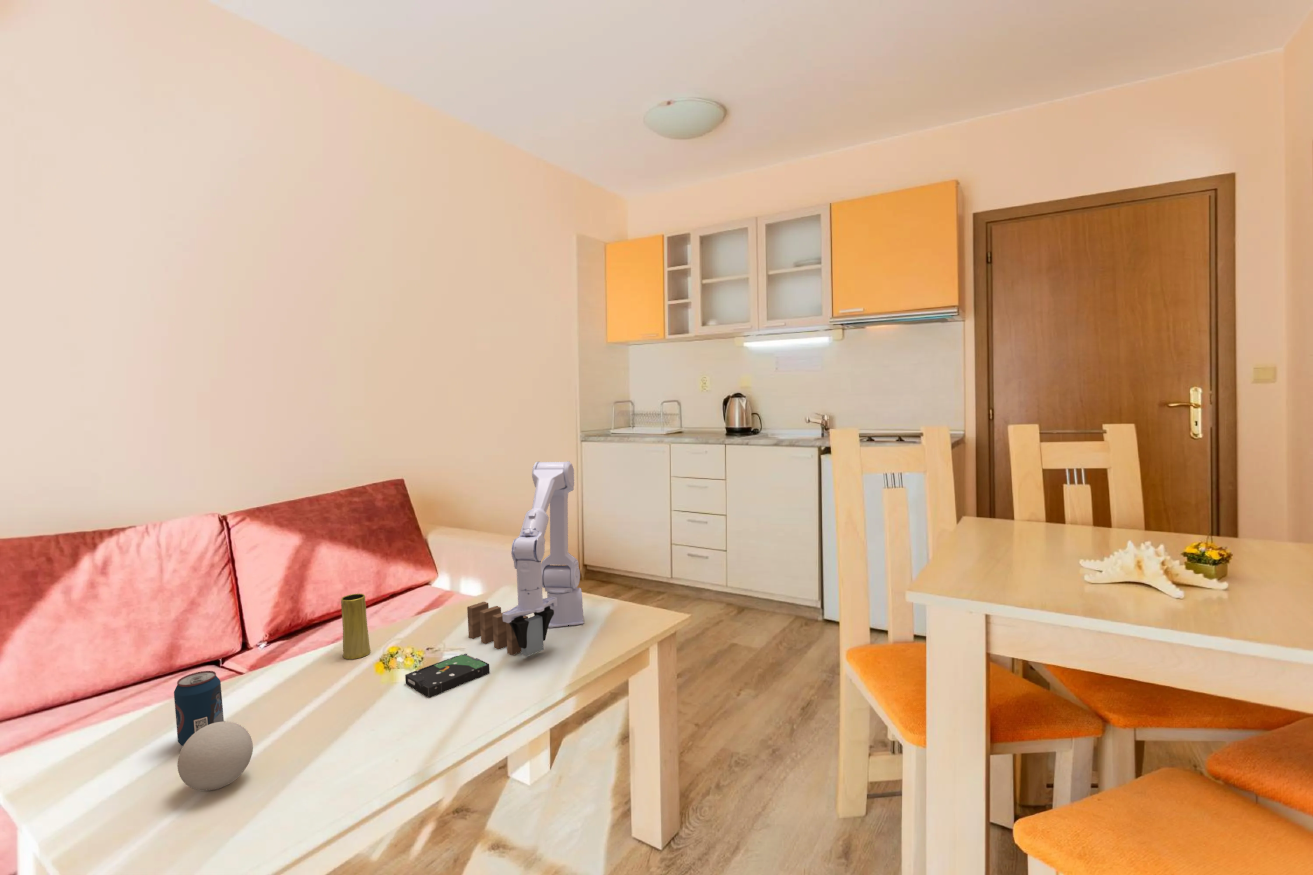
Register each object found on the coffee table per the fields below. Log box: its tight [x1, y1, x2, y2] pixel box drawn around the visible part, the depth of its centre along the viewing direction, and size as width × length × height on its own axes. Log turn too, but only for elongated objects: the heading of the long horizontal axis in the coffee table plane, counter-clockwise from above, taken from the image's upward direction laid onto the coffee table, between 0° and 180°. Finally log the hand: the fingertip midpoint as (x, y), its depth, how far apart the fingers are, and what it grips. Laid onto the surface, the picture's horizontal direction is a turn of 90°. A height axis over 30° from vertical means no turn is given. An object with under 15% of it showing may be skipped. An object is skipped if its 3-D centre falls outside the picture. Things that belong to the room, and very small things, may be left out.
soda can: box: [173, 670, 225, 747], centre depth 115 cm, size 7×7×12 cm
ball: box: [177, 721, 254, 792], centre depth 102 cm, size 10×10×10 cm
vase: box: [340, 593, 372, 660], centre depth 153 cm, size 6×6×14 cm
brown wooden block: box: [492, 609, 510, 651], centre depth 156 cm, size 2×5×8 cm, turn 139°
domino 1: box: [480, 605, 502, 645], centre depth 160 cm, size 2×5×8 cm, turn 139°
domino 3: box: [506, 615, 529, 656], centre depth 152 cm, size 2×5×8 cm, turn 139°
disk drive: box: [404, 653, 491, 699], centre depth 139 cm, size 10×3×15 cm
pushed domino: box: [466, 601, 490, 640], centre depth 163 cm, size 2×5×8 cm, turn 139°
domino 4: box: [520, 615, 545, 657], centre depth 149 cm, size 2×5×8 cm, turn 139°
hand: (532, 643), depth 149 cm, fingers closed on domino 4, 5 cm apart
